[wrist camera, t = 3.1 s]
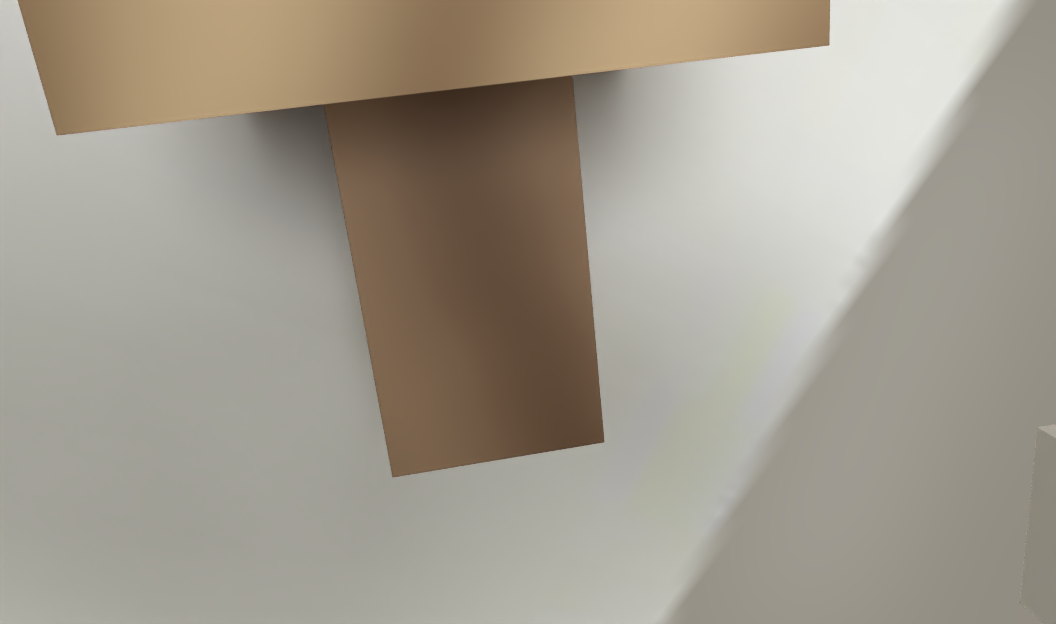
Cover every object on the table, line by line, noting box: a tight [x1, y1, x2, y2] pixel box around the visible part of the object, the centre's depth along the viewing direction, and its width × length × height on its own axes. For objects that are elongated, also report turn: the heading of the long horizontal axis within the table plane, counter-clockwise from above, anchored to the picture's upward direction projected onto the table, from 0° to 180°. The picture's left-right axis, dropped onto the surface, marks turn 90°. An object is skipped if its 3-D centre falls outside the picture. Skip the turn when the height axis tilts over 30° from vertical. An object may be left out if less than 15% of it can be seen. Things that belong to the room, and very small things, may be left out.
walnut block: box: [324, 75, 604, 477], centre depth 20 cm, size 5×15×8 cm, turn 6°
